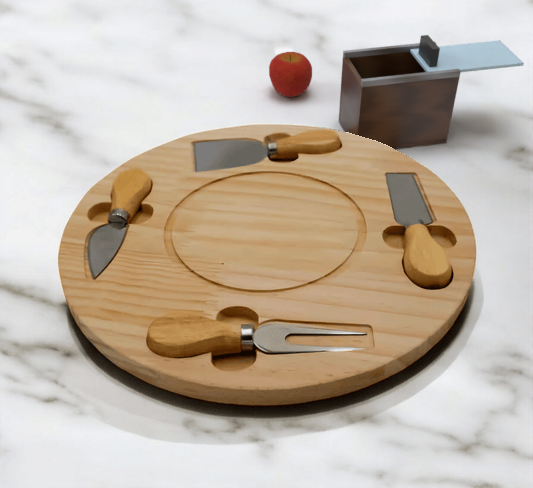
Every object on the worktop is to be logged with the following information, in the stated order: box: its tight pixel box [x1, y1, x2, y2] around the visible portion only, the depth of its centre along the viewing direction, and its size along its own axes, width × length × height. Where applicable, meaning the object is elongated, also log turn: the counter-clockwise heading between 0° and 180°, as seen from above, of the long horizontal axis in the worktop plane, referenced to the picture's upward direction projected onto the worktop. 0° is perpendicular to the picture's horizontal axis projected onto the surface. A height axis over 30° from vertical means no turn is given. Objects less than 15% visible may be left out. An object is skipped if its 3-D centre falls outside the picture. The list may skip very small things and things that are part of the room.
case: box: [338, 41, 462, 150], centre depth 107 cm, size 16×11×13 cm
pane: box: [410, 34, 524, 73], centre depth 103 cm, size 16×8×4 cm, turn 101°
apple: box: [268, 51, 313, 98], centre depth 119 cm, size 8×8×8 cm
